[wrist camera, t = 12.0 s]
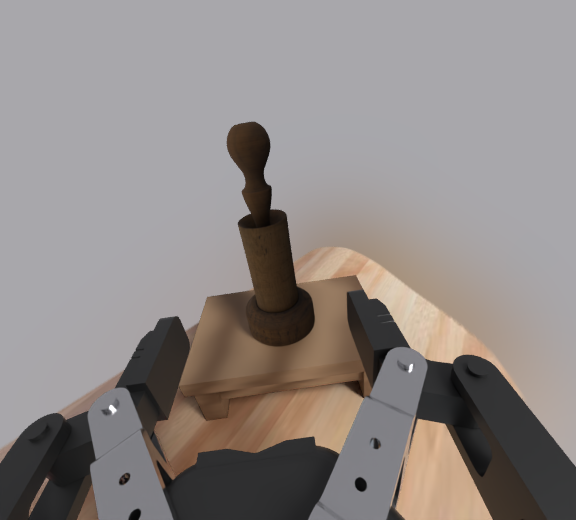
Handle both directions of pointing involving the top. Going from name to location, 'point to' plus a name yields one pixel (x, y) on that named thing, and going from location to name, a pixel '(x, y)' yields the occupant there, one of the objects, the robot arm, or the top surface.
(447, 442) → the top surface
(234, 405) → the top surface
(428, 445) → the top surface
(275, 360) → the footstool
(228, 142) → the mortar and pestle
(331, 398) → the top surface
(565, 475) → the robot arm
